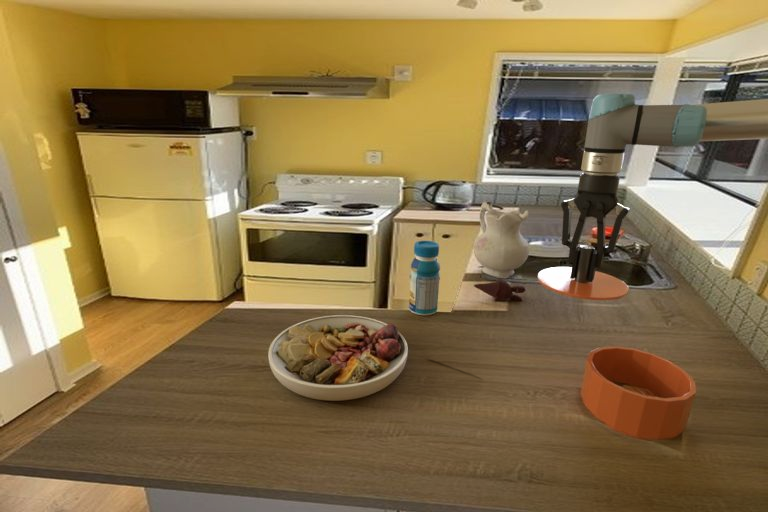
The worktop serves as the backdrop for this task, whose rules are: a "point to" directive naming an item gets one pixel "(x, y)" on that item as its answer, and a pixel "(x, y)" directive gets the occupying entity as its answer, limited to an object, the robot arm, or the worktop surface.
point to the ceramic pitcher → (501, 242)
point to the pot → (632, 408)
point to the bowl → (338, 357)
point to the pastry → (639, 390)
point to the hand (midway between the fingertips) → (582, 278)
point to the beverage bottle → (424, 278)
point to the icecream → (501, 290)
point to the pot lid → (583, 280)
